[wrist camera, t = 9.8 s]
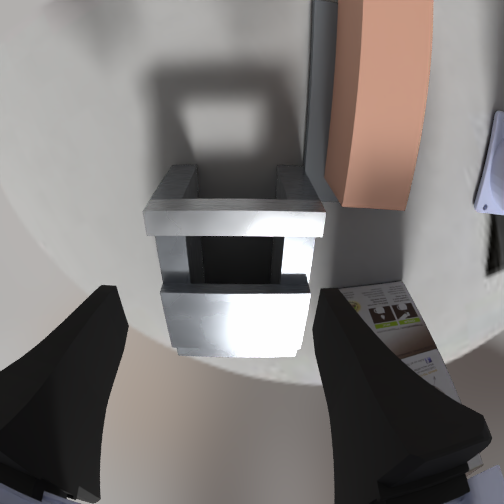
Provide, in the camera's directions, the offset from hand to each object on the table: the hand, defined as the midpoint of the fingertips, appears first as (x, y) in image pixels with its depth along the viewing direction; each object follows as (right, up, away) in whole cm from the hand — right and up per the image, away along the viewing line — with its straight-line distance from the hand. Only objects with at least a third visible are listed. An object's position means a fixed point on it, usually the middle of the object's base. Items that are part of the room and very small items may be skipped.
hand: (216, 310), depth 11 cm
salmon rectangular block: (+7, +11, +4) cm, 14 cm away
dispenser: (0, +3, +10) cm, 10 cm away
